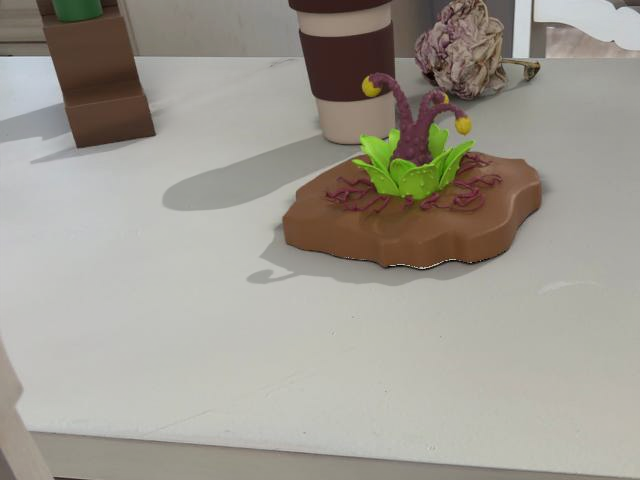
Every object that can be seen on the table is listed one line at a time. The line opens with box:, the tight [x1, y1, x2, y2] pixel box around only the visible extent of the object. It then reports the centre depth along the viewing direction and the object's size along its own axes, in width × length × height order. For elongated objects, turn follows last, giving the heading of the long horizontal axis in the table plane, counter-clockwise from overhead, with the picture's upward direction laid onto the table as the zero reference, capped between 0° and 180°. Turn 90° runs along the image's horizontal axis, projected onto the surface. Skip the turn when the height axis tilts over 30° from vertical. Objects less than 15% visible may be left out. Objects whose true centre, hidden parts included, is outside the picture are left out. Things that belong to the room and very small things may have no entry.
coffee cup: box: [287, 0, 397, 145], centre depth 97 cm, size 10×10×15 cm
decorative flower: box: [413, 0, 541, 101], centre depth 108 cm, size 10×10×15 cm
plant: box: [281, 72, 543, 268], centre depth 80 cm, size 20×20×11 cm
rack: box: [35, 0, 157, 149], centre depth 105 cm, size 13×8×12 cm, turn 20°
